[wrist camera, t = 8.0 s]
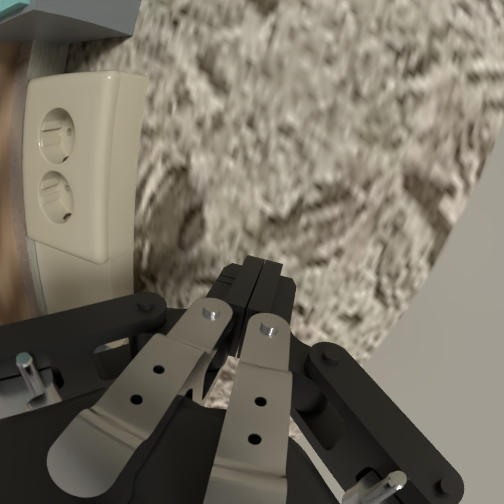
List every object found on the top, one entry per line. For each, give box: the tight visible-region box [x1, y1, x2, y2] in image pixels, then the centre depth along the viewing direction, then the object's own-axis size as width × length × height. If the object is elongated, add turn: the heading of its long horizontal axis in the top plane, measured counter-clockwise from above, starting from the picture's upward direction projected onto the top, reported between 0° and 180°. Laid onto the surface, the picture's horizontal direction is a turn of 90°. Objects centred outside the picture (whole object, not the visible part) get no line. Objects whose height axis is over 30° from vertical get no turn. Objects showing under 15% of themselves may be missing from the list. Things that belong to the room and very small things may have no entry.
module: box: [0, 0, 141, 44], centre depth 9 cm, size 4×7×9 cm, turn 80°
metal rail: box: [9, 39, 70, 318], centre depth 18 cm, size 22×2×4 cm, turn 169°
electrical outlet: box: [23, 70, 148, 348], centre depth 17 cm, size 7×4×18 cm
